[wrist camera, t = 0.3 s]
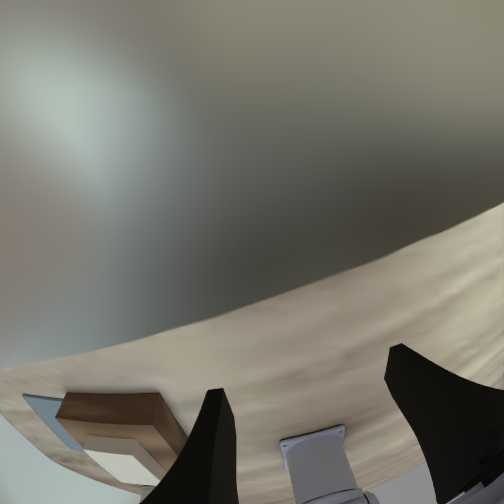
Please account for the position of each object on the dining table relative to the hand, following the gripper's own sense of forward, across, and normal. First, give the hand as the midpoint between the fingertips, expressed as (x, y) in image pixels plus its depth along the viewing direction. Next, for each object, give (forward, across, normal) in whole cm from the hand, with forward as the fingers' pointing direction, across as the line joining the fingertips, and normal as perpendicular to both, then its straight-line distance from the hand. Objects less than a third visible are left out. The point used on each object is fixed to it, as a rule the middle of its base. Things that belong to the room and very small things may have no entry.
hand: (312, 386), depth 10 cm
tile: (+6, +18, +16) cm, 25 cm away
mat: (+10, +29, +17) cm, 35 cm away
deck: (+10, +18, +16) cm, 26 cm away
